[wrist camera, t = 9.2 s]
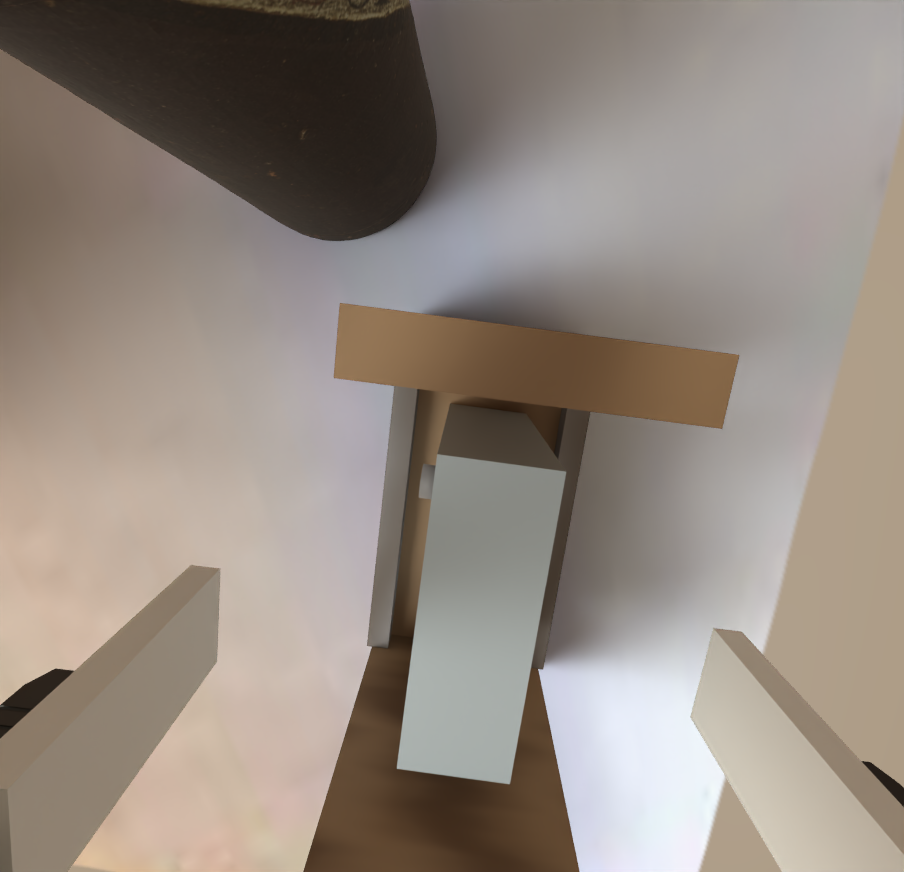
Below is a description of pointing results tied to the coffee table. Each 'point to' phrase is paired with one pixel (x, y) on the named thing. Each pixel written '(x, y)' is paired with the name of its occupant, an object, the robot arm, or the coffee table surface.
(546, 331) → the brown cabinet body
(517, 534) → the door slab
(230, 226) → the coffee table surface
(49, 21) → the container
